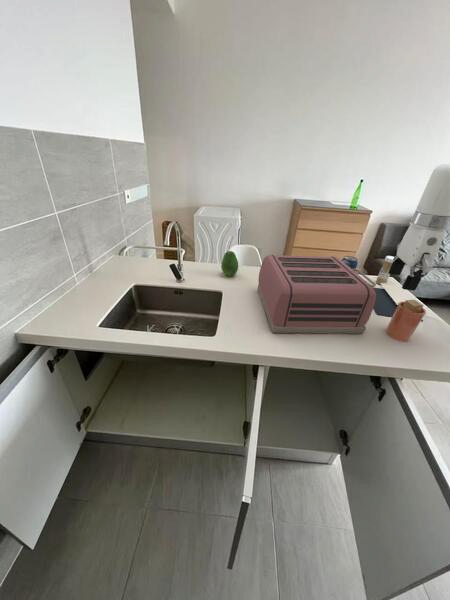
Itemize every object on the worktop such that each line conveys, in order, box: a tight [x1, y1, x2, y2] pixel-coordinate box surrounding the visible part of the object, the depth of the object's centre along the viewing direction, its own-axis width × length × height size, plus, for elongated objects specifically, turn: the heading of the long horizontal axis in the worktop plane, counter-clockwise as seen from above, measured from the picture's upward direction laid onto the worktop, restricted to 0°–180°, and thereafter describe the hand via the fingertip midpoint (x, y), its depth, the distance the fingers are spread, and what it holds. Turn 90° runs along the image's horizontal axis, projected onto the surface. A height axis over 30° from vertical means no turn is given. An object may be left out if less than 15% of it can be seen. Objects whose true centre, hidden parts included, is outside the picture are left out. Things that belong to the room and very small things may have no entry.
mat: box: [373, 287, 424, 322], centre depth 102 cm, size 16×24×1 cm, turn 169°
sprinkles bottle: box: [375, 255, 395, 286], centre depth 113 cm, size 5×5×14 cm
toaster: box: [257, 254, 377, 334], centre depth 90 cm, size 30×36×17 cm
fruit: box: [220, 250, 239, 277], centre depth 113 cm, size 8×8×12 cm
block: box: [402, 299, 425, 313], centre depth 78 cm, size 3×3×3 cm
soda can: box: [340, 255, 359, 272], centre depth 114 cm, size 7×7×12 cm
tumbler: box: [385, 301, 427, 342], centre depth 81 cm, size 7×7×11 cm
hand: (400, 281), depth 70 cm, fingers open, 9 cm apart
